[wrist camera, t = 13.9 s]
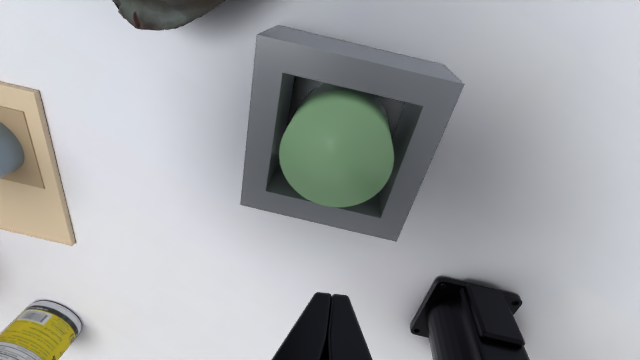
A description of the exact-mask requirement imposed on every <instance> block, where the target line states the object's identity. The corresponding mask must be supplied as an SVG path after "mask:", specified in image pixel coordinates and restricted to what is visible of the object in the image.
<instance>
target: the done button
mask: <svg viewBox="0 0 640 360" xmlns="http://www.w3.org/2000/svg"><path fill="white" fill-rule="evenodd" d="M279 159H280V165H281V168H282V171H283V174H284V176H285V178H286V179H287V181H288V182H289V184H290V185H291V186H292V187H293V189H294V190H295V191H297V192H298V193H299V194H300V195H302V196H303V197H304V198H306V199H308V200H310V201H312V202H314V203H317V204H320V205H323V206H328V207H348V206H353V205H357V204H360V203H362V202H365V201H367V200H368V199H370V198H372V197H373V196H375V195H376V194H377V193H378V192H379V191H380V190H381V189H382V188H383V187H384V186H385V184H386V183H387V181H388V179H389V177H390V175H391V172H392V169H393V164H394V151H393V145H392V139H391V134H390V128H389V123H388V118H387V114H386V111H385V109H384V107H383V105H382V103H381V102H380V100H379V99H378V98H377V97H376V96H375V95H374V94H370V93H366V92H362V91H358V90H353V89H349V88H345V87H341V86H337V85H332V84H328V83H326V84H323V85H321V86H319V87H317V88H315V89H314V90H312V91H311V92H310V93H309V94H308V95H307V96H305V98H304V99H303V100H302V102H301V103H300V105H299V107H298V109H297V110H296V112H295V114H294V116H293V118H292V120H291V121H290V123H289V125H288V127H287V129H286V131H285V132H284V135H283V137H282V140H281V143H280V149H279Z"/></svg>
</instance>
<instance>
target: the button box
mask: <svg viewBox="0 0 640 360" xmlns="http://www.w3.org/2000/svg"><path fill="white" fill-rule="evenodd" d="M295 76H299V77H303V78H307V79H312V80H316V81H320V82H324V83H328V84H332V85H337V86H341V87H345V88H349V89H353V90H358V91H362V92H366V93H370V94H374V95H379V96H383V97H387V98H391V99H395V100H399V101H404V102H405V105H404V108H403V111H402V114H401V117H400V120H399V122H398V125H397V128H396V131H395V134H394V137H393V140H392V145H393V151H394V164H393V169H392V172H391V175H390V177H389V179H388V181H387V183H386V184H385V186H384V187H383V188H382V189H381V190H380V191H379V192H378V193H377V194H376V195H375V196H373V197H372V198H370V199H368V200H367V201H365V202H362V203H360V204H357V205H353V206H348V207H328V206H323V205H320V204H317V203H314V202H312V201H310V200H308V199H306V198H304V197H303V196H302V195H300V194H299V193H298V192H297V191H295V190H294V189H293V187H292V186H291V185H290V184H289V182H288V181H287V179H286V178H285V176H284V174H283V171H282V168H281V165H280V159H279V149H280V143H281V140H282V137H283V135H284V132H285V131H286V127H287V121H288V115H289V109H290V103H291V96H292V90H293V84H294V78H295ZM463 87H464V83H463V82H462V81H461V80H460V79H459V78H458V77H456V76H455V75H454V74H453V73H452V72H451V71H450V70H449V69H448V68H447V67H446V66H445V65H442V64H438V63H434V62H430V61H426V60H421V59H417V58H413V57H409V56H405V55H400V54H396V53H392V52H388V51H384V50H380V49H375V48H371V47H367V46H363V45H359V44H355V43H350V42H346V41H342V40H338V39H334V38H330V37H325V36H321V35H317V34H313V33H309V32H305V31H300V30H296V29H292V28H288V27H284V26H280V25H277V26H275V27H273V28H270V29H268V30H266V31H264V32H261V33H259V34H257V39H256V49H255V59H254V70H253V80H252V90H251V100H250V111H249V121H248V131H247V142H246V152H245V162H244V172H243V183H242V193H241V203H240V205H244V206H248V207H252V208H256V209H260V210H265V211H269V212H273V213H277V214H282V215H286V216H290V217H294V218H299V219H303V220H307V221H311V222H316V223H320V224H324V225H328V226H332V227H337V228H341V229H345V230H349V231H354V232H358V233H362V234H366V235H371V236H375V237H379V238H383V239H388V240H392V241H397V239H398V237H399V234H400V232H401V230H402V227H403V225H404V223H405V220H406V218H407V216H408V214H409V211H410V209H411V207H412V204H413V202H414V200H415V197H416V195H417V193H418V190H419V188H420V186H421V184H422V181H423V179H424V177H425V174H426V172H427V170H428V167H429V165H430V163H431V160H432V158H433V156H434V153H435V151H436V149H437V147H438V144H439V142H440V140H441V137H442V135H443V133H444V130H445V128H446V126H447V123H448V121H449V119H450V117H451V114H452V112H453V110H454V107H455V105H456V103H457V100H458V98H459V96H460V93H461V91H462V89H463Z"/></svg>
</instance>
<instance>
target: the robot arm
mask: <svg viewBox="0 0 640 360" xmlns="http://www.w3.org/2000/svg"><path fill="white" fill-rule="evenodd" d="M441 284H443V285H441ZM521 305H522V300H521V298H520V297H519V296H518V295H516V294H512V293H507V292H503V291H499V290H495V289H490V288H486V287H482V286H478V285H473V284H469V283H465V282H461V281H456V280H452V279H448V278H438V279H437V280H436V281H435V282H434V284H433V286H432V288H431V290H430V291H429V293H428V295H427V297H426V298H425V300H424V302H423V304H422V306H421V307H420V309H419V311H418V313H417V314H416V316H415V318H414V320H413V322H412V323H411V325H410V330H411V333H412V334H415V335H419V336H423V337H428V338H429V340H430V345H431V351H432V356H433V360H530V359H529V357H528V355H527V353H526V350H525V348H524V345H525V341H524V339H523V337H522V334H521V332H520V330H519V328H518V326H517V323H516V321H515V319H514V317H513V315H514V313H515V312H516V311H517V310H518V309H519V307H520V306H521ZM272 360H372V357H371V355H370V352H369V349H368V347H367V344H366V341H365V339H364V336H363V334H362V331H361V328H360V326H359V323H358V320H357V318H356V315H355V312H354V310H353V307H352V305H351V302H350V299H349V297H348V296H346V295H339V294H334V295H332V296H331V294H329V293H320V292H317V293H315V294H314V296H313V297H312V299H311V300H310V302H309V303H308V305H307V306H306V308H305V310H304V311H303V313H302V314H301V316H300V317H299V319H298V320H297V322H296V323H295V325H294V326H293V328H292V329H291V331H290V332H289V334H288V336H287V337H286V339H285V340H284V342H283V343H282V345H281V346H280V348H279V349H278V351H277V352H276V354H275V355H274V357H273V358H272Z"/></svg>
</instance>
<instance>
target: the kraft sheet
mask: <svg viewBox="0 0 640 360" xmlns="http://www.w3.org/2000/svg"><path fill="white" fill-rule="evenodd" d="M0 122H1V123H3V124H4V125H5V126H6V127H7V128H9V129H10V130H11V131H12V133H13V134H14V135H15V136H16V138H17V139H18V140H19V142H20V144H21V146H22V148H23V152H24V162H23V165H22V166H21V167H20V168H19V169H17V170H16V171H14V172H12V173H10V174H8V175H6V176H4V177H2V178H0V229H2V230H6V231H10V232H15V233H19V234H23V235H28V236H32V237H36V238H40V239H45V240H49V241H53V242H57V243H62V244H66V245H70V246H73V245H74V244H75V243H76V242H75V238H74V233H73V229H72V225H71V221H70V217H69V213H68V209H67V204H66V200H65V196H64V192H63V188H62V184H61V180H60V176H59V171H58V167H57V163H56V159H55V155H54V151H53V147H52V143H51V138H50V134H49V130H48V126H47V122H46V118H45V114H44V109H43V105H42V101H41V97H40V93H39V91H38V90H34V89H29V88H25V87H21V86H17V85H13V84H8V83H4V82H0Z"/></svg>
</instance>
